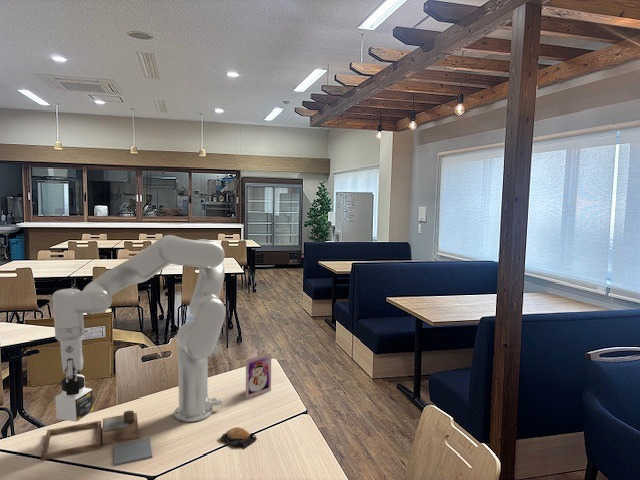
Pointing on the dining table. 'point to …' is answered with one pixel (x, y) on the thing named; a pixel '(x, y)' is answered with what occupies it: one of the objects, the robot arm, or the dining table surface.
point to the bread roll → (237, 438)
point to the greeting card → (258, 374)
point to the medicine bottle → (74, 402)
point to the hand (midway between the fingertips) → (73, 389)
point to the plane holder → (111, 433)
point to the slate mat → (132, 451)
